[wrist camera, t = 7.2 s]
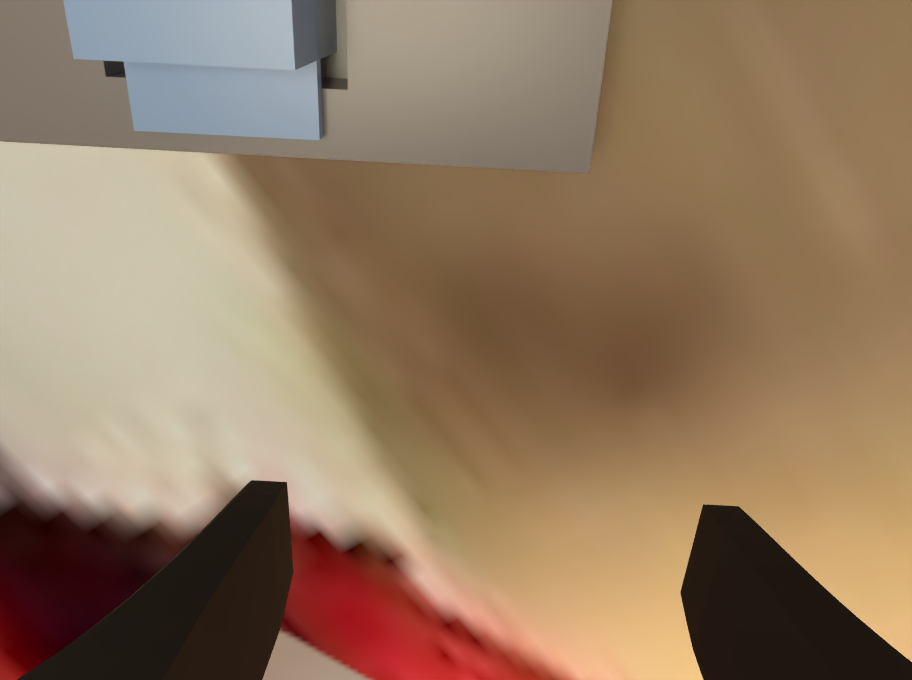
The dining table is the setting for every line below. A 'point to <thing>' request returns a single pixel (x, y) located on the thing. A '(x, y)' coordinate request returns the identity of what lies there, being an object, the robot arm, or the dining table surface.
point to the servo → (213, 62)
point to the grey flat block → (357, 86)
